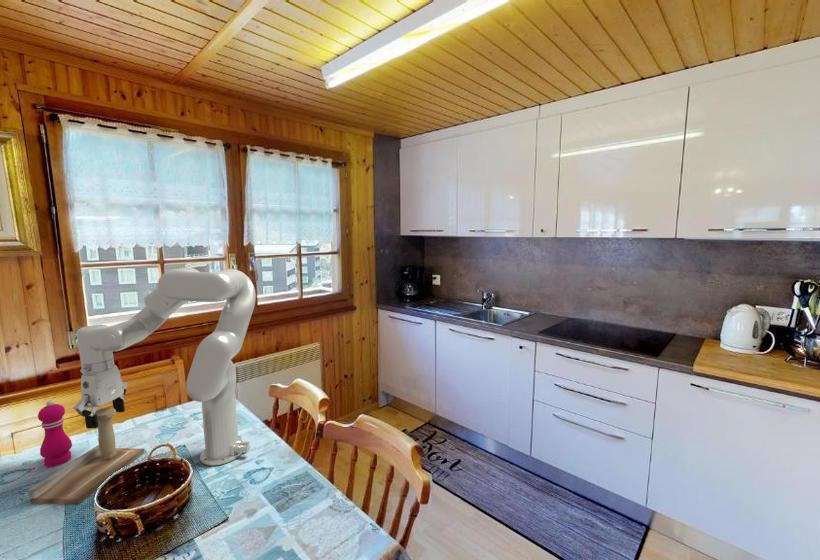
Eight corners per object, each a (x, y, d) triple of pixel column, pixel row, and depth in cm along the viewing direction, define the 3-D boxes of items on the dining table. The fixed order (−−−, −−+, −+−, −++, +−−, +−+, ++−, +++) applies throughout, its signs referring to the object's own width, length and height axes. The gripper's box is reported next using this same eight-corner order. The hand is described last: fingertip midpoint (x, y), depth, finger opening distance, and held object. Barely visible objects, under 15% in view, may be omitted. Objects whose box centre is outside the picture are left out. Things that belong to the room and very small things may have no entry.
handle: (109, 463, 111) (104, 416, 110) (92, 461, 113) (86, 414, 111) (124, 454, 116) (119, 409, 114) (108, 451, 117) (102, 407, 116)
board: (144, 452, 119) (143, 441, 119) (78, 504, 96) (76, 490, 96) (105, 452, 120) (104, 440, 119) (30, 503, 97) (28, 489, 96)
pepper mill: (36, 465, 113) (28, 403, 111) (65, 452, 120) (58, 394, 117) (49, 470, 111) (41, 407, 108) (78, 457, 117) (71, 397, 115)
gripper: (84, 376, 102) (93, 434, 104) (132, 356, 119) (139, 406, 121) (58, 377, 102) (67, 435, 105) (110, 356, 120) (118, 406, 122)
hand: (106, 419), depth 113 cm, fingers open, 9 cm apart
